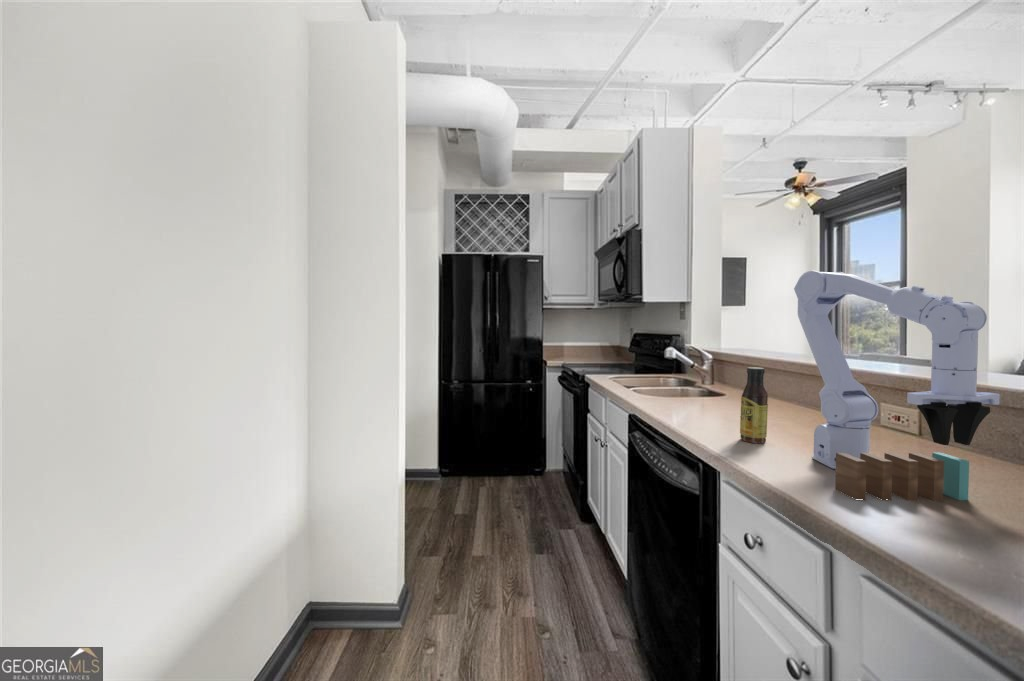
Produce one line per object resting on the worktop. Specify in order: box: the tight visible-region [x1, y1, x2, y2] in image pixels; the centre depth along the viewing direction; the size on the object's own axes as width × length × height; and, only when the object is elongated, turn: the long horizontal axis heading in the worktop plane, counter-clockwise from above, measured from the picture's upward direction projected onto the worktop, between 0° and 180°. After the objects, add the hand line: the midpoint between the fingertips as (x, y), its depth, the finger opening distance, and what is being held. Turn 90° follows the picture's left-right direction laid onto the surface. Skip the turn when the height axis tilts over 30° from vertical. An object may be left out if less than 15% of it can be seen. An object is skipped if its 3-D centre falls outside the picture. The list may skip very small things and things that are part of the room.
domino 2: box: [860, 452, 892, 501], centre depth 77 cm, size 2×5×7 cm, turn 179°
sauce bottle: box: [739, 366, 769, 444], centre depth 113 cm, size 7×6×20 cm
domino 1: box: [834, 453, 867, 501], centre depth 77 cm, size 2×5×7 cm, turn 179°
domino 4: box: [908, 452, 944, 501], centre depth 77 cm, size 2×5×7 cm, turn 179°
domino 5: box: [931, 452, 970, 501], centre depth 77 cm, size 2×5×7 cm, turn 179°
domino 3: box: [883, 452, 918, 501], centre depth 77 cm, size 2×5×7 cm, turn 179°
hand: (951, 443), depth 77 cm, fingers open, 3 cm apart
